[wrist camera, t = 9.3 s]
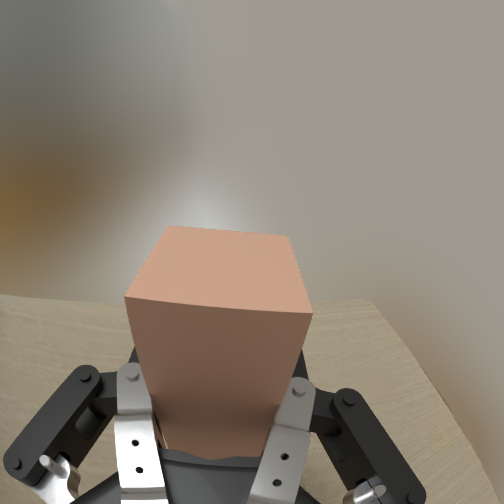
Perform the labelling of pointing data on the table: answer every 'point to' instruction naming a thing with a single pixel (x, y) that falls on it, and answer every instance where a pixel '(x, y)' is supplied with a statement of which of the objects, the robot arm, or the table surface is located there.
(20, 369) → the table surface
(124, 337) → the table surface
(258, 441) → the block
